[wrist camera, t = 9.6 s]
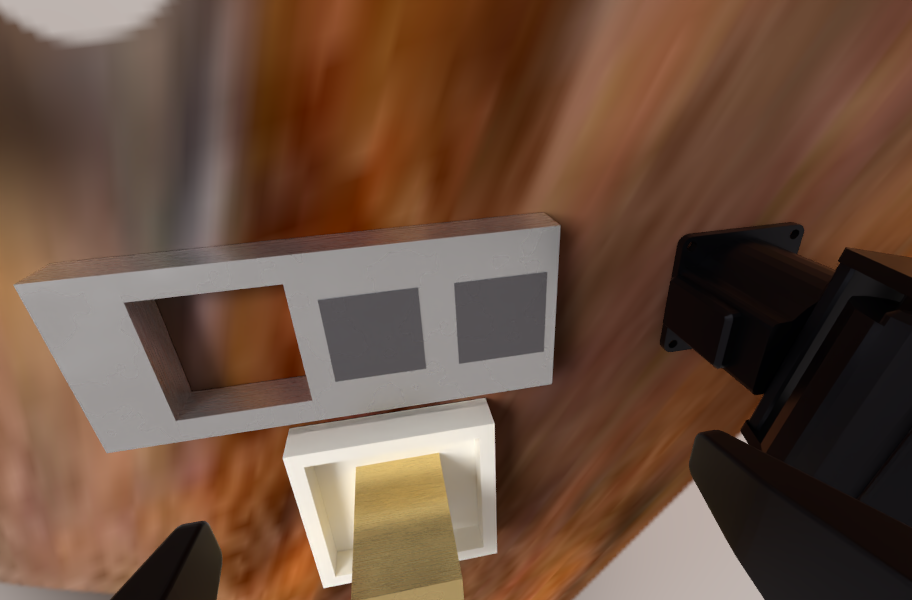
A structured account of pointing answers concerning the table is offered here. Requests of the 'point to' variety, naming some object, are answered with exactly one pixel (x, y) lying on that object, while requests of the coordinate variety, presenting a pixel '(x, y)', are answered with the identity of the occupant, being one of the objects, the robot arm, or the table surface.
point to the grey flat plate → (309, 325)
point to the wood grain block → (404, 533)
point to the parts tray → (387, 439)
